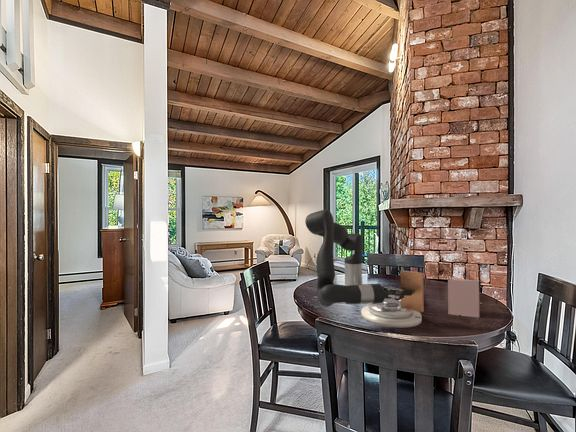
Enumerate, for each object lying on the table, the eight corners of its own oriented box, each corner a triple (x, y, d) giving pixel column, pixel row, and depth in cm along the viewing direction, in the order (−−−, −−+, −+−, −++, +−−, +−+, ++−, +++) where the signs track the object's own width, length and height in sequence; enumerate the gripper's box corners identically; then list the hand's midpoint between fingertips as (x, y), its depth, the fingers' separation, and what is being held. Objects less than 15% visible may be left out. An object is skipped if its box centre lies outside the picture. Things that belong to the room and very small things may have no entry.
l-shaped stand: (360, 311, 126) (359, 269, 126) (381, 302, 138) (381, 264, 138) (412, 325, 109) (412, 276, 109) (432, 314, 122) (431, 270, 122)
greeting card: (480, 317, 124) (479, 281, 124) (471, 320, 120) (470, 283, 120) (453, 310, 134) (452, 276, 134) (443, 313, 130) (443, 278, 130)
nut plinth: (376, 305, 142) (376, 300, 142) (429, 315, 126) (429, 310, 126) (350, 318, 124) (350, 313, 124) (409, 332, 108) (409, 326, 108)
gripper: (376, 288, 109) (420, 286, 111) (362, 280, 122) (402, 279, 124) (376, 308, 109) (420, 306, 111) (362, 298, 122) (402, 297, 124)
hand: (410, 292), depth 118 cm, fingers closed
